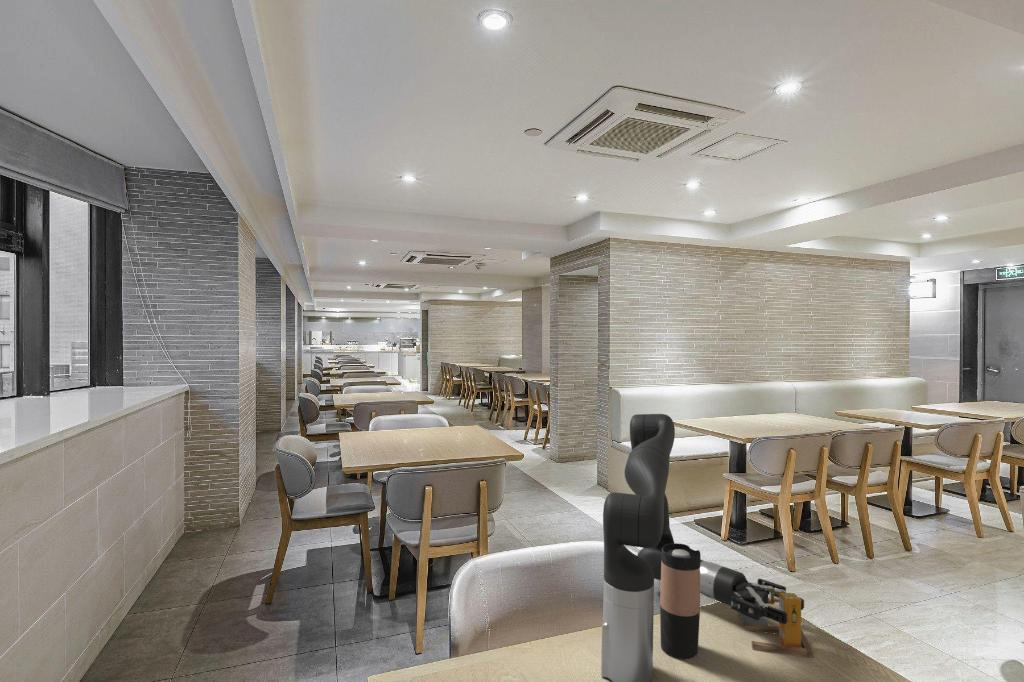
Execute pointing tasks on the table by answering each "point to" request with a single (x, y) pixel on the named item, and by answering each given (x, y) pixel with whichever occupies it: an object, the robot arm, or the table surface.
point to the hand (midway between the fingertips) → (795, 611)
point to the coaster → (751, 620)
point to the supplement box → (790, 620)
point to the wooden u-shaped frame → (803, 651)
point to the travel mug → (680, 600)
